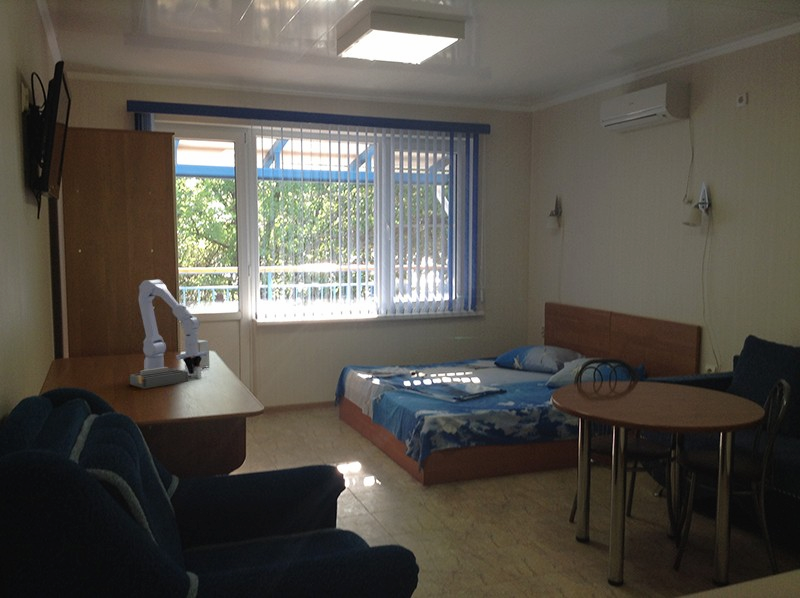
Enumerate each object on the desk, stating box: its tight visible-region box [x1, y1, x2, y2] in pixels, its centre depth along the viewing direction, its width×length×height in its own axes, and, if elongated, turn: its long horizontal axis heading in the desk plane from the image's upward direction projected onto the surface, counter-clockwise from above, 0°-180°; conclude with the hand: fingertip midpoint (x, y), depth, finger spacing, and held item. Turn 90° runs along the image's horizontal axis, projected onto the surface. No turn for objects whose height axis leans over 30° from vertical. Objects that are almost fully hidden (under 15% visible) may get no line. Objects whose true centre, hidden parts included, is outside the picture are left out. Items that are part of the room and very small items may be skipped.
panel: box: [184, 364, 202, 379], centre depth 308 cm, size 12×2×5 cm, turn 45°
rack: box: [129, 366, 189, 389], centre depth 294 cm, size 14×20×6 cm, turn 135°
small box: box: [189, 339, 210, 369], centre depth 331 cm, size 8×6×13 cm
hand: (192, 373), depth 308 cm, fingers closed on panel, 2 cm apart
